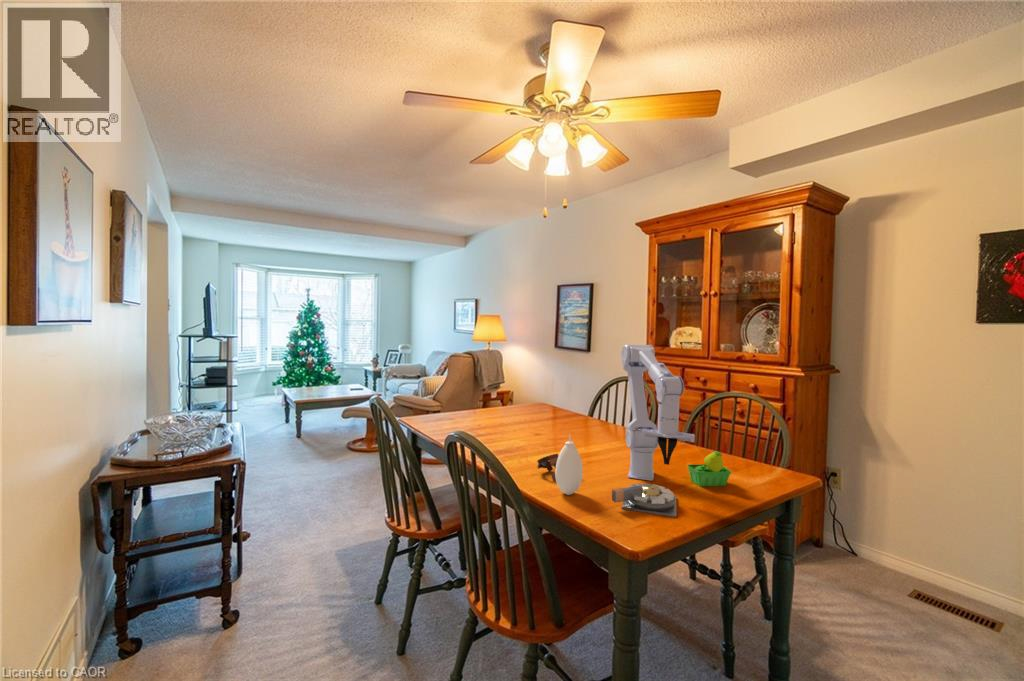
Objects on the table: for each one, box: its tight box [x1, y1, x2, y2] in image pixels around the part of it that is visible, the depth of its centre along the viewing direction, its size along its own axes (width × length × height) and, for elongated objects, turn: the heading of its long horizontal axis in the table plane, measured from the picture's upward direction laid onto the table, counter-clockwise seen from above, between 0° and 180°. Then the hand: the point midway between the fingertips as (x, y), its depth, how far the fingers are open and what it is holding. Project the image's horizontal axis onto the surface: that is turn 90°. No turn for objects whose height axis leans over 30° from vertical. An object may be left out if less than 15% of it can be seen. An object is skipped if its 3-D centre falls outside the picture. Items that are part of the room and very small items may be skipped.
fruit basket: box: [686, 450, 732, 487], centre depth 145 cm, size 11×9×11 cm
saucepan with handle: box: [611, 483, 675, 504], centre depth 126 cm, size 12×18×3 cm
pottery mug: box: [537, 453, 559, 482], centre depth 150 cm, size 12×10×8 cm
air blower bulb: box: [554, 434, 583, 496], centre depth 134 cm, size 8×8×18 cm
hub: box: [621, 483, 677, 518], centre depth 128 cm, size 14×14×5 cm
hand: (666, 463), depth 133 cm, fingers closed
